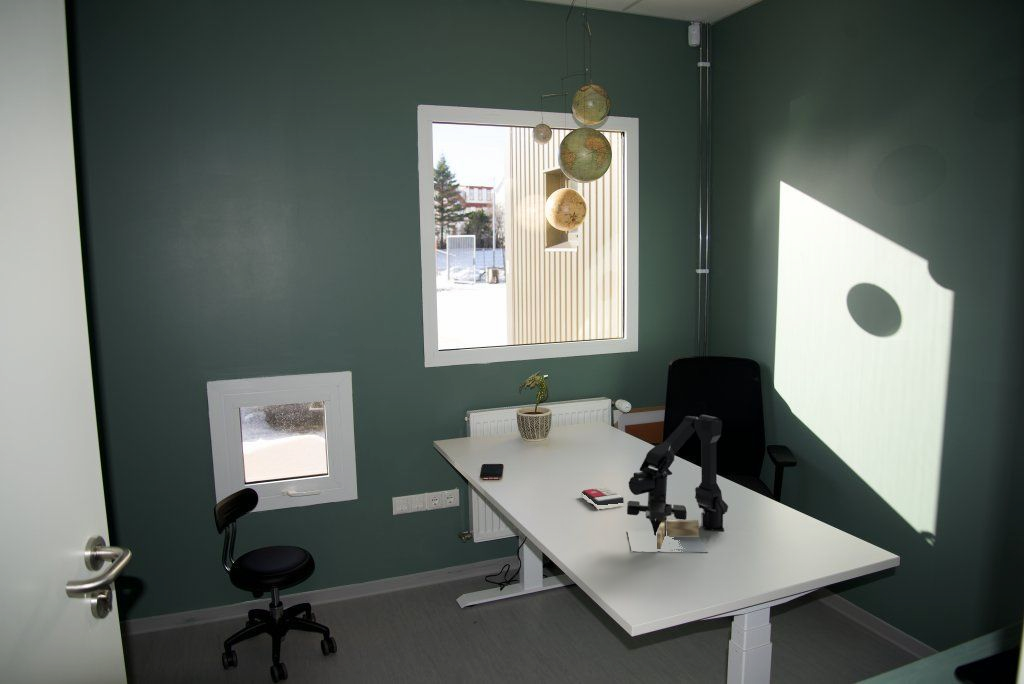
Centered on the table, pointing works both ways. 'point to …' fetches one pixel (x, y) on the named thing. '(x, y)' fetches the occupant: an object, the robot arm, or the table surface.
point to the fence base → (682, 527)
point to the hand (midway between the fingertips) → (655, 535)
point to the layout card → (690, 543)
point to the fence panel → (660, 535)
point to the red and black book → (603, 496)
